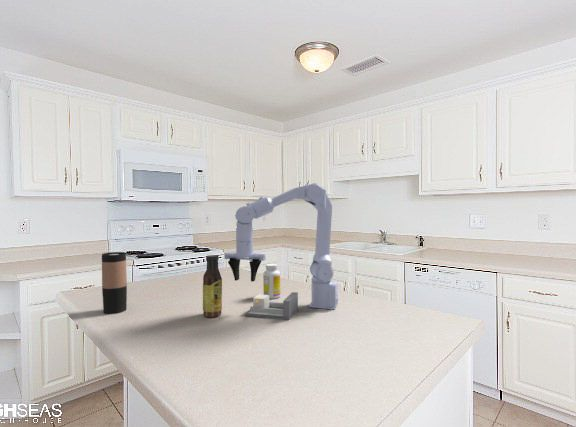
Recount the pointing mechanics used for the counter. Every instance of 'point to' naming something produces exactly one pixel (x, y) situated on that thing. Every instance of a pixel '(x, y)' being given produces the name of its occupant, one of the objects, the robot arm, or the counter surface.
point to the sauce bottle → (212, 288)
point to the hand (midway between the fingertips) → (244, 280)
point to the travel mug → (114, 282)
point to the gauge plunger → (261, 301)
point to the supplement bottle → (271, 281)
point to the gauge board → (277, 309)
